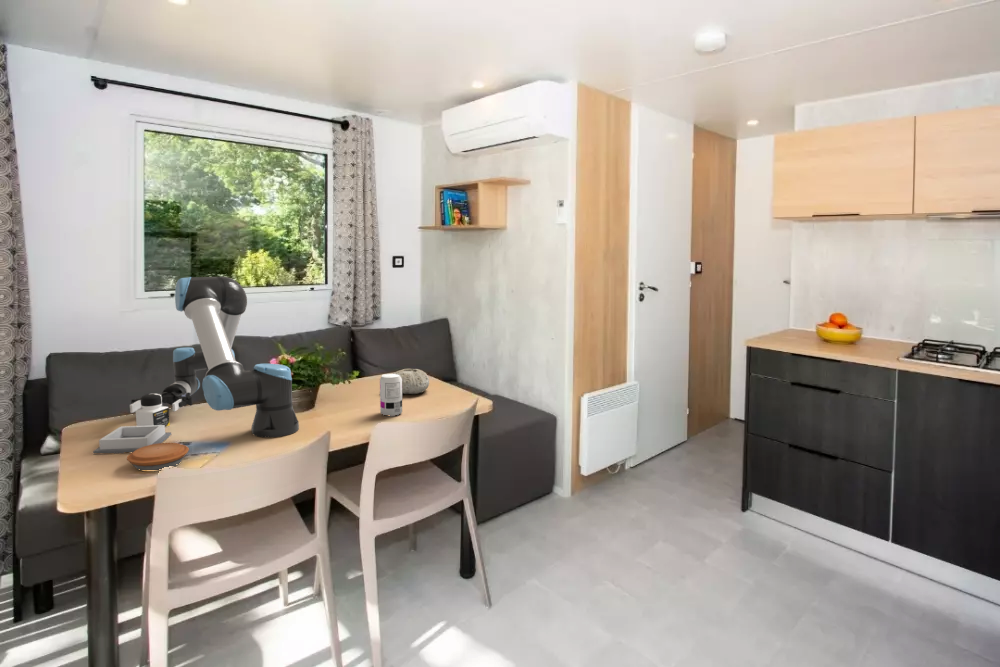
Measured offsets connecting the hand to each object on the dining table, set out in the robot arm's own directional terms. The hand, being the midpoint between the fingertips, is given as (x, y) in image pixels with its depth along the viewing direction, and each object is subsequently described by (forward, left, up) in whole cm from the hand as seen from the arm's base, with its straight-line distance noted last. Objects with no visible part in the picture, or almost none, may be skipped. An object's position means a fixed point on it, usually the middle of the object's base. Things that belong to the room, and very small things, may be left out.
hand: (152, 408), depth 198 cm
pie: (-38, +12, -7) cm, 41 cm away
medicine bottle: (-1, +1, -7) cm, 7 cm away
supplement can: (-47, -66, -7) cm, 82 cm away
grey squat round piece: (-27, -92, -7) cm, 97 cm away
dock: (-14, +11, -7) cm, 19 cm away
